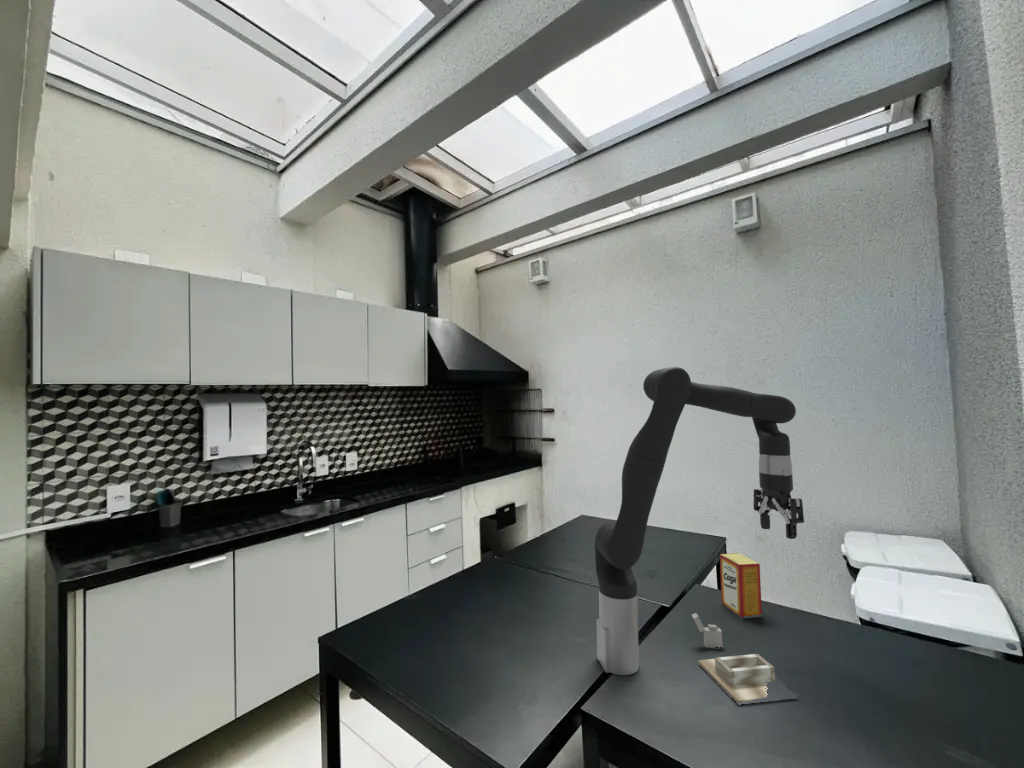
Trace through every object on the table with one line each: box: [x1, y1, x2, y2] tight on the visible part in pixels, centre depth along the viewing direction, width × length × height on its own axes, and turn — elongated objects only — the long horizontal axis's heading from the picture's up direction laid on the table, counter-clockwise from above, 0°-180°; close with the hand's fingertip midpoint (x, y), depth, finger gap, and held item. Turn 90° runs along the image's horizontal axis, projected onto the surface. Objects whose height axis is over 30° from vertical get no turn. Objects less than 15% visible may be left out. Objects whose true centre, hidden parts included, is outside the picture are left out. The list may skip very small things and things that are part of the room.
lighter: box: [691, 612, 723, 649], centre depth 107 cm, size 7×2×8 cm, turn 85°
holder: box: [697, 653, 776, 703], centre depth 93 cm, size 14×14×4 cm
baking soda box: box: [719, 552, 763, 617], centre depth 126 cm, size 10×6×16 cm
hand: (778, 533), depth 108 cm, fingers open, 8 cm apart
